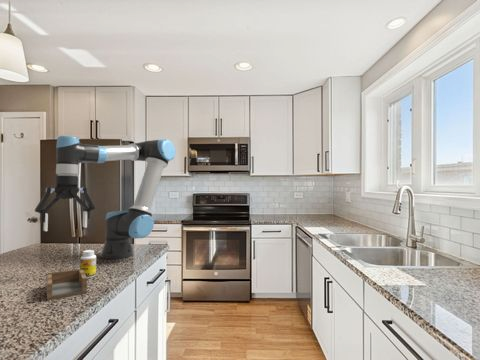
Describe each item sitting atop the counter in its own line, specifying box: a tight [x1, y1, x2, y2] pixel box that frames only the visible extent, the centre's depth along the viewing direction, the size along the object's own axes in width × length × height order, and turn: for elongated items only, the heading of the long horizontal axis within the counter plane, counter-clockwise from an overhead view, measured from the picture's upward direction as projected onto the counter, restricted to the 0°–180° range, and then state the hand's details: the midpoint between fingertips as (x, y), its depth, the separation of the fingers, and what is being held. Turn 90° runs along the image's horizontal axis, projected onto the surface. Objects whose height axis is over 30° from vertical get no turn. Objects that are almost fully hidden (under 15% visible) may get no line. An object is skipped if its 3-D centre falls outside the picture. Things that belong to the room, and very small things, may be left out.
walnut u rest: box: [46, 268, 88, 301], centre depth 96 cm, size 14×11×5 cm
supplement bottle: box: [79, 249, 97, 279], centre depth 111 cm, size 6×6×10 cm
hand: (66, 229), depth 110 cm, fingers open, 13 cm apart
